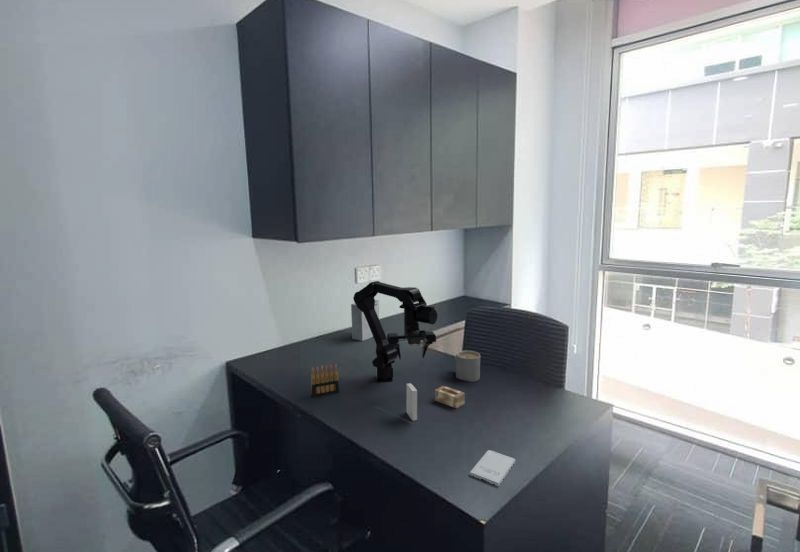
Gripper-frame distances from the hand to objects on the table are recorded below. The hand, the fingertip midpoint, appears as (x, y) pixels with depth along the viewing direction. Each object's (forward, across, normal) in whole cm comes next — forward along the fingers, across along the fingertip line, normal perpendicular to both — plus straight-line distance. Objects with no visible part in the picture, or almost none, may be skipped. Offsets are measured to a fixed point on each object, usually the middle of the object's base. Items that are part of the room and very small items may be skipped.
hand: (411, 358), depth 161 cm
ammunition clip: (+12, -34, -1) cm, 36 cm away
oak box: (+12, +12, -15) cm, 23 cm away
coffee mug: (+12, +25, +8) cm, 29 cm away
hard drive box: (+12, -14, +69) cm, 72 cm away
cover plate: (+12, -4, -24) cm, 27 cm away
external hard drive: (+13, +14, -54) cm, 57 cm away
